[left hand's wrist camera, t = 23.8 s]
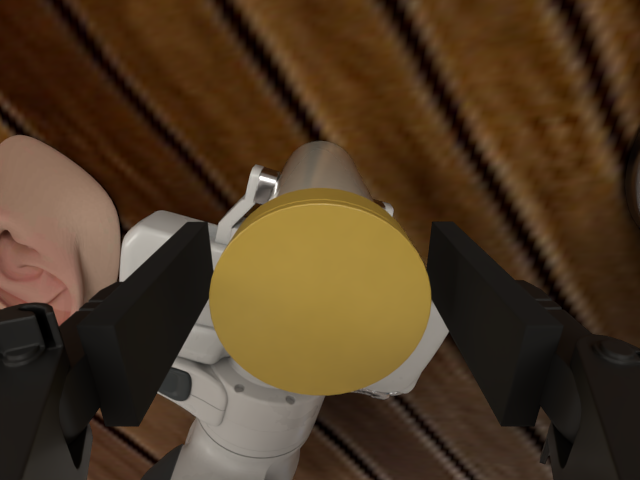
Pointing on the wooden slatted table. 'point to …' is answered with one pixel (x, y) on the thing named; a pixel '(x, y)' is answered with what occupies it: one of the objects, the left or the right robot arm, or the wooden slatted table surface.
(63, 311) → the anatomical model
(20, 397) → the left robot arm
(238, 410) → the right robot arm
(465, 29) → the wooden slatted table surface
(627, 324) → the wooden slatted table surface
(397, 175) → the wooden slatted table surface
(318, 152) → the jar
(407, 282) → the lid
